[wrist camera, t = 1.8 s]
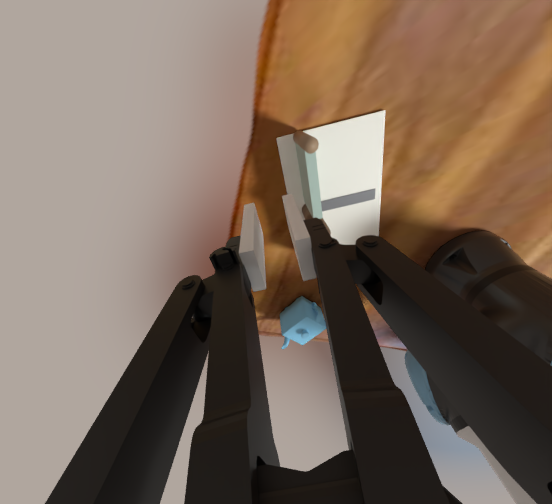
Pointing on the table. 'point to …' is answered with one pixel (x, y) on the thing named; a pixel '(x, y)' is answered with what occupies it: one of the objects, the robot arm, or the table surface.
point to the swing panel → (309, 171)
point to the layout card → (343, 174)
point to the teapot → (301, 321)
